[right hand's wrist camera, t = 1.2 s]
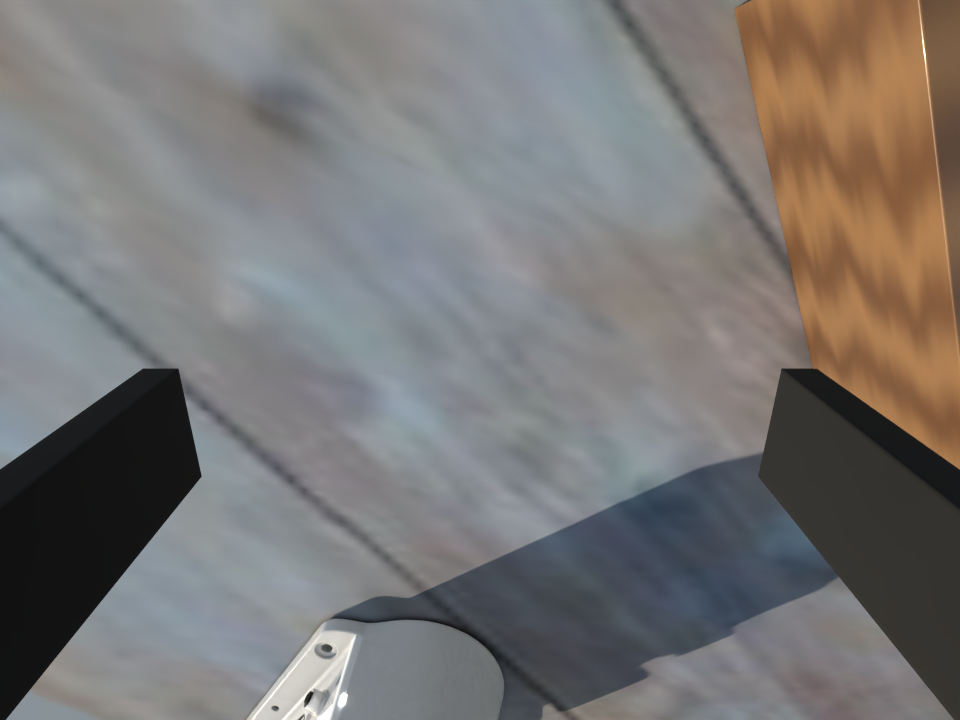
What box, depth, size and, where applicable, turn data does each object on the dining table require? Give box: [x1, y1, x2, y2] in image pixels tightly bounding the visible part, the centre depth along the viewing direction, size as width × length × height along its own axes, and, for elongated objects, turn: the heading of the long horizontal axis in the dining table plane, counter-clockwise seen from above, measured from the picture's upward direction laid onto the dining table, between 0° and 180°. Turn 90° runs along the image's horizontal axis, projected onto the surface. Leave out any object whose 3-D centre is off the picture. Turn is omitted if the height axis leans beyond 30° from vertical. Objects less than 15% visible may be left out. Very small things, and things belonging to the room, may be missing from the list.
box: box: [735, 0, 960, 469], centre depth 26 cm, size 26×6×12 cm, turn 23°
